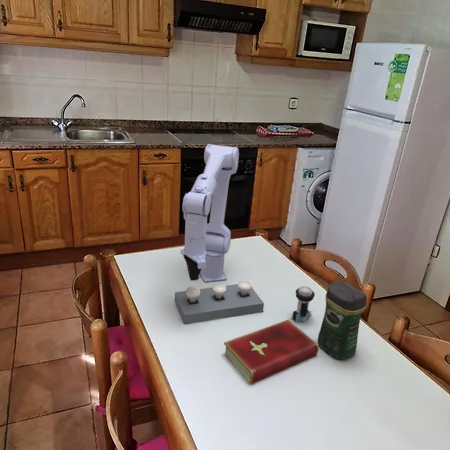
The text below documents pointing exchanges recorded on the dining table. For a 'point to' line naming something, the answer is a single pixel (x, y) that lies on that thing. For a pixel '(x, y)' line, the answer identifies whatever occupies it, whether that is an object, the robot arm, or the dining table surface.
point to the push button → (303, 304)
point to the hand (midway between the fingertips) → (193, 279)
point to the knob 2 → (244, 287)
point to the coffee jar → (341, 320)
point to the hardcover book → (270, 350)
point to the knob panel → (217, 304)
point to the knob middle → (219, 290)
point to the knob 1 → (193, 293)
